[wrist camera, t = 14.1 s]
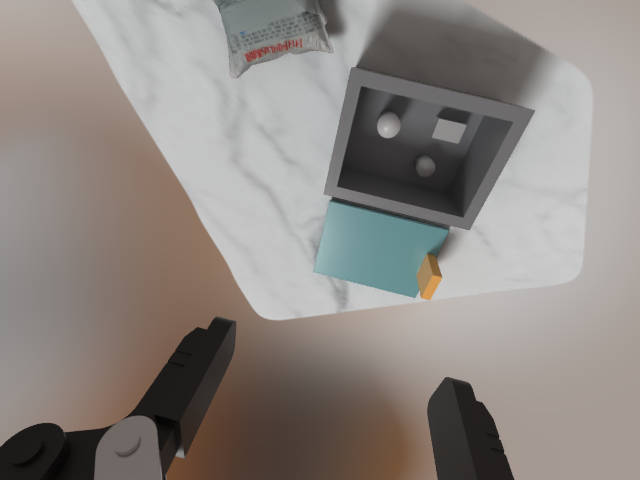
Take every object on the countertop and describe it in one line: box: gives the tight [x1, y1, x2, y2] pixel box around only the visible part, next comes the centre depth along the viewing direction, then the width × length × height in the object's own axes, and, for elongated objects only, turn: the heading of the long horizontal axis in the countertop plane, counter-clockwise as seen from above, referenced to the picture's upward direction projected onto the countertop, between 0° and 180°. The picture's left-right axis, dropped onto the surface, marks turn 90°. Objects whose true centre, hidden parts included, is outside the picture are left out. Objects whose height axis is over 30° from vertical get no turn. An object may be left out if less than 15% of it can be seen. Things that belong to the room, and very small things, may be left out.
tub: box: [324, 67, 535, 230], centre depth 31 cm, size 16×12×8 cm
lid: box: [313, 200, 449, 300], centre depth 41 cm, size 16×12×6 cm
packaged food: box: [213, 0, 334, 78], centre depth 29 cm, size 9×12×5 cm
